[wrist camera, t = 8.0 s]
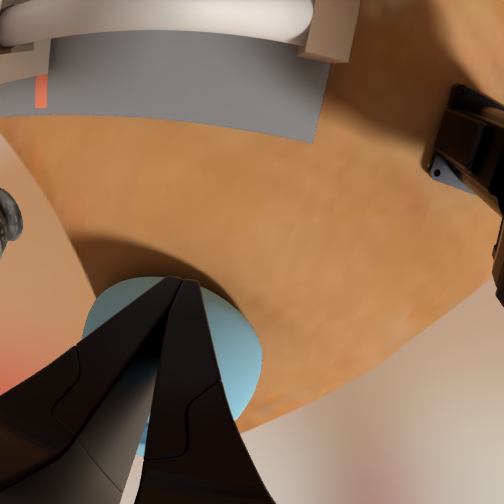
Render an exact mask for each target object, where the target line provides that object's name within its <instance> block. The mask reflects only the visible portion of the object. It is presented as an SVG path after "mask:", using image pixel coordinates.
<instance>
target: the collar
mask: <svg viewBox="0 0 504 504" xmlns="http://www.w3.org/2000/svg"><path fill="white" fill-rule="evenodd" d="M28 1H31V0H0V9H1V6H10V5H18V4H21V3H25V2H28ZM50 44H51V39H45V40H40V41H35V42H30V43H25V44H20V45H16V46H15V47H13V48H12V49H11V53H8V54H2V55H0V84H3V83H7V82H11V81H16V80H20V79H24V78H29V77H34V76H39V75H44V74H48V67H49V55H50Z"/></svg>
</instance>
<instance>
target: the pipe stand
mask: <svg viewBox="0 0 504 504" xmlns="http://www.w3.org/2000/svg"><path fill="white" fill-rule="evenodd" d="M360 2H361V0H31V1H28V2H25V3H21V4H18V5H10V6H2V9H0V55H2V54H8V53H11V49H12V48H13V47H15V46H16V45H20V44H25V43H30V42H35V41H40V40H45V39H51V44H50V55H49V67H48V74H44V75H39V76H34V77H29V78H24V79H20V80H16V81H11V82H7V83H3V84H0V117H10V116H30V115H100V116H122V117H138V118H151V119H162V120H172V121H182V122H190V123H198V124H206V125H214V126H221V127H227V128H234V129H240V130H246V131H252V132H258V133H263V134H269V135H274V136H279V137H284V138H289V139H294V140H299V141H304V142H308V143H313V140H314V136H315V132H316V128H317V123H318V119H319V115H320V110H321V106H322V102H323V97H324V93H325V88H326V84H327V79H328V75H329V70H330V66H331V63H348V61H349V56H350V52H351V47H352V42H353V37H354V33H355V28H356V23H357V18H358V13H359V7H360Z"/></svg>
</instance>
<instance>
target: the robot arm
mask: <svg viewBox="0 0 504 504" xmlns="http://www.w3.org/2000/svg"><path fill="white" fill-rule="evenodd" d="M459 89H461V91H462V93H461V95H459V93H458V91H459ZM434 147H435V151H434V154H433V157H432V160H431V163H430V166H429V168H428V174H429V176H430V177H431V178H432V179H434V180H436V181H439V182H442V183H444V184H447V185H450V186H453V187H456V188H458V189H461V190H464V191H466V192H469V193H471V194H474V195H477V196H479V197H480V198H481V199H482V200H483V201H484V202H485V203H487V204H488V205H489V206H490V207H491V208H492V209H493V210H494V211H495V212H496V213H498V214H499V215H500V216H501V217H502V221H501V226H500V230H499V234H498V239H497V243H496V245H494V248H493V252H492V256H493V259H494V262H493V269H492V274H493V278H494V281H495V285H496V287H497V290H496V297H497V298H498V300H499V301H500V303H501V304H502V306H503V307H504V108H503V107H501V106H500V105H498V104H496V103H495V102H493V101H491V100H489V99H488V98H486V97H484V96H483V95H481V94H479V93H477V92H475V91H473V90H472V89H470V88H468V87H466V86H464V85H461V84H455V85H454V86H453V88H452V91H451V95H450V99H449V103H448V107H447V109H446V110H445V111H444V115H443V118H442V122H441V125H440V129H439V132H438V135H437V138H436V142H435V145H434ZM436 169H438V172H437V174H434V171H435V170H436ZM76 346H77V347H76ZM76 346H73V347H72V348H70V349H69V350H68V351H66V352H65V353H64V354H62V355H61V356H60V357H58V358H57V359H56V360H55V361H53V362H52V363H50V364H49V365H48V366H46V367H45V368H43V369H41V370H40V371H38V372H37V373H35V374H34V375H32V376H31V377H29V378H28V379H26V380H25V381H23V382H21V383H20V384H18V385H16V386H15V387H13V388H12V389H10V390H9V391H7V392H5V393H4V394H2V395H1V396H0V504H119V503H120V500H121V497H122V493H123V491H124V488H125V485H126V481H127V478H128V475H129V472H130V469H131V466H132V463H133V460H134V457H135V454H136V452H137V449H138V446H139V443H140V440H141V437H142V434H143V431H144V428H145V426H146V423H147V420H148V417H149V414H150V417H149V423H148V430H147V437H146V444H145V451H144V462H143V467H142V475H141V479H140V485H139V489H138V492H137V496H136V499H135V502H134V504H276V503H275V501H274V500H273V498H272V497H271V495H270V494H269V492H268V490H267V489H266V487H265V485H264V483H263V481H262V480H261V478H260V476H259V474H258V472H257V470H256V467H255V465H254V463H253V461H252V460H251V457H250V455H249V453H248V451H247V449H246V447H245V444H244V442H243V440H242V438H241V436H240V433H239V431H238V429H237V426H236V424H235V421H234V419H233V416H232V413H231V410H230V407H229V404H228V400H227V397H226V393H225V390H224V386H223V382H222V378H221V374H220V370H219V366H218V362H217V358H216V354H215V349H214V345H213V341H212V337H211V332H210V328H209V323H208V319H207V314H206V310H205V305H204V300H203V296H202V291H201V286H200V282H199V281H197V280H192V279H187V278H186V279H184V280H183V279H182V278H181V277H176V276H171V275H168V276H166V277H165V278H163V279H162V280H161V281H159V282H158V283H156V284H155V285H154V286H152V287H151V288H150V289H148V290H147V291H146V292H144V293H143V294H142V295H140V296H139V297H138V298H136V299H135V300H134V301H132V302H131V303H129V304H128V305H127V306H125V307H124V308H123V309H121V310H120V311H119V312H118V313H116V314H115V315H114V316H112V317H111V318H110V319H108V320H107V321H106V322H104V323H103V324H102V325H100V326H99V327H98V328H96V329H95V330H94V331H92V332H91V333H90V334H89V335H87V336H86V337H85V338H83V339H82V340H81V341H80V342H78V343H77V344H76Z"/></svg>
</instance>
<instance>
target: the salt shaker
mask: <svg viewBox="0 0 504 504" xmlns="http://www.w3.org/2000/svg"><path fill="white" fill-rule="evenodd" d="M22 229H23V221H22V216H21V212H20V210H19V207H18V205H17V204H16V202H15V200H14V199H13V197H12V196H11V195H10V194H9V193H8V192H7V191H5V190H4V189H1V188H0V259H1V256H2V253H3V251H4V249H5V247H6V244H7V241H15V240H16V239H18V238H19V237H20V235H21V233H22Z"/></svg>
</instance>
